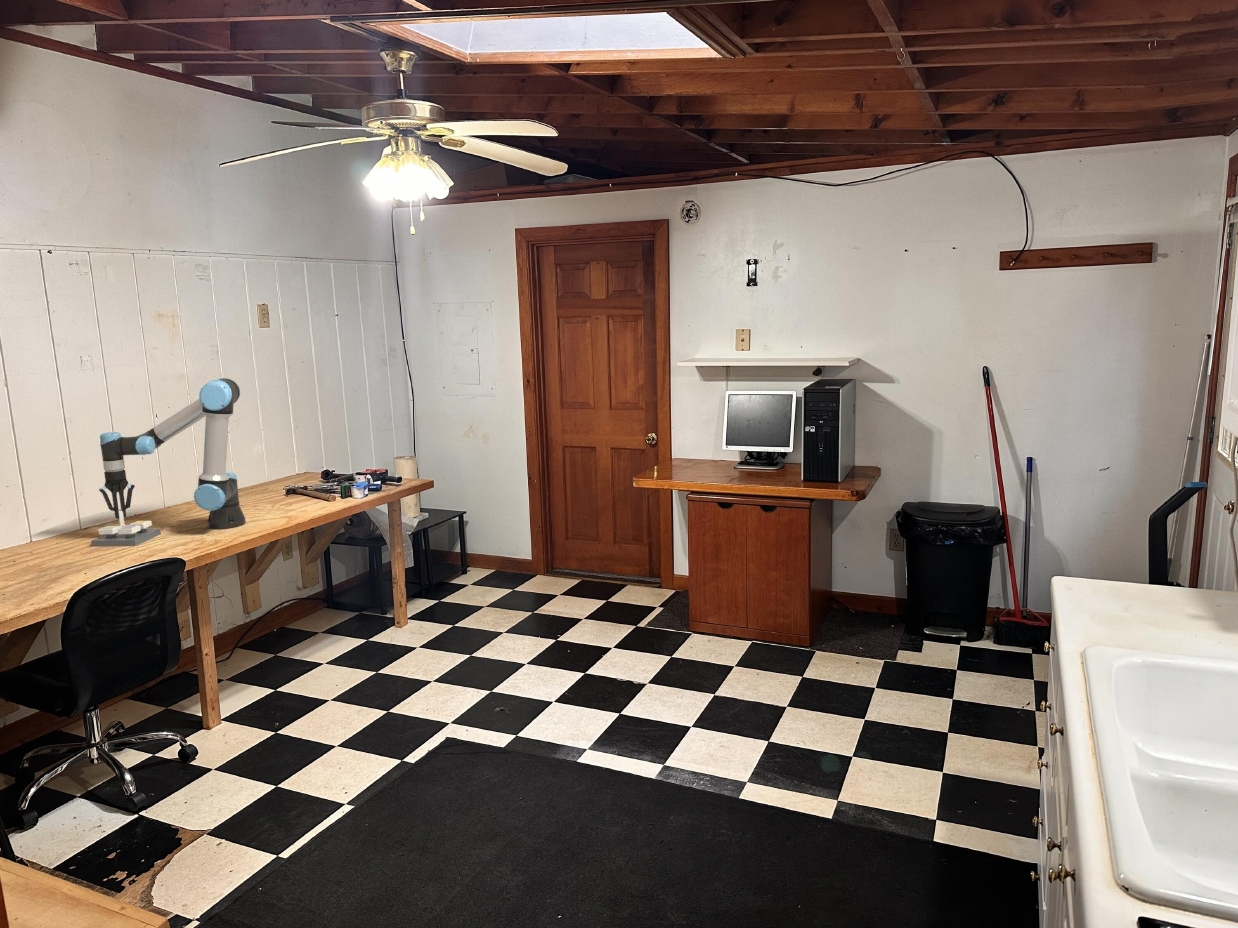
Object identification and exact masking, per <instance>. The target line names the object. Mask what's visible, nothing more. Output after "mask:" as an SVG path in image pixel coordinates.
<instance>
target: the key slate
mask: <svg viewBox="0 0 1238 928" xmlns="http://www.w3.org/2000/svg"><path fill="white" fill-rule="evenodd" d="M140 530H141V529H140V526H124V527H122V528H120V529H118V534H125V538H132V537H134V536H135V534H134V533H136V532H138V531H140Z"/></svg>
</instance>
